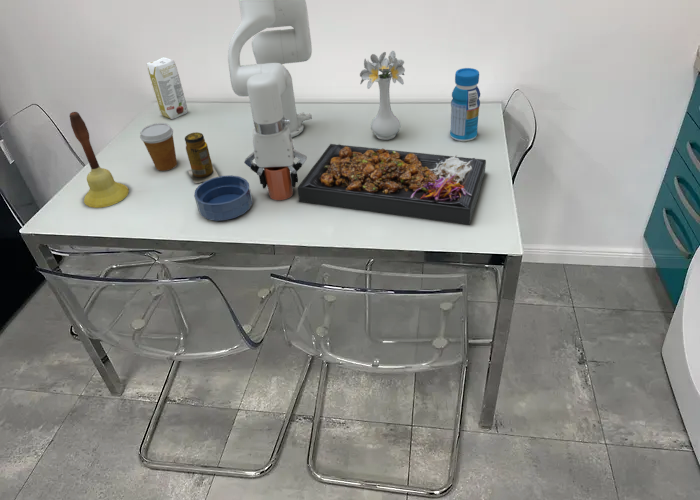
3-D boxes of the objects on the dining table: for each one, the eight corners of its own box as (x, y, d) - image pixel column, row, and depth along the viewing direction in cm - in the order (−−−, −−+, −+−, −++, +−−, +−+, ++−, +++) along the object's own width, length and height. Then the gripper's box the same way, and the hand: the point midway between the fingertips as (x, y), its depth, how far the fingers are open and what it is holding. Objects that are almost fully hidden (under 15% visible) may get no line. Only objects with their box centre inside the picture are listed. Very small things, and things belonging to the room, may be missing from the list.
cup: (287, 184, 157) (282, 156, 152) (297, 195, 153) (292, 166, 147) (265, 191, 155) (260, 163, 150) (274, 203, 150) (269, 173, 145)
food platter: (484, 173, 155) (487, 139, 148) (469, 224, 137) (472, 188, 130) (331, 157, 168) (328, 125, 162) (299, 201, 150) (294, 167, 144)
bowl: (242, 187, 158) (238, 169, 155) (260, 211, 148) (257, 193, 144) (192, 203, 153) (187, 185, 150) (208, 229, 143) (203, 211, 140)
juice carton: (191, 112, 201) (177, 59, 189) (171, 121, 196) (155, 67, 184) (178, 107, 205) (164, 55, 193) (158, 116, 200) (142, 63, 188)
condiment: (212, 165, 169) (202, 128, 162) (219, 177, 163) (210, 139, 156) (188, 171, 167) (177, 134, 160) (194, 184, 161) (184, 146, 153)
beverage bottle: (447, 141, 171) (450, 76, 158) (451, 128, 177) (454, 65, 165) (475, 143, 168) (480, 78, 156) (479, 130, 175) (484, 67, 162)
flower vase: (407, 121, 183) (406, 43, 168) (403, 148, 169) (402, 66, 153) (367, 121, 185) (363, 44, 170) (360, 148, 171) (355, 67, 155)
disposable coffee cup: (174, 174, 166) (163, 137, 159) (145, 173, 168) (132, 136, 161) (187, 158, 174) (177, 122, 166) (159, 157, 175) (148, 121, 168)
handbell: (136, 184, 163) (107, 103, 148) (115, 208, 154) (82, 124, 138) (98, 183, 165) (65, 103, 150) (75, 207, 156) (37, 123, 140)
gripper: (305, 116, 144) (312, 176, 155) (238, 120, 145) (250, 179, 156) (302, 129, 138) (310, 191, 149) (232, 133, 139) (245, 194, 150)
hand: (279, 184), depth 152 cm, fingers open, 7 cm apart
